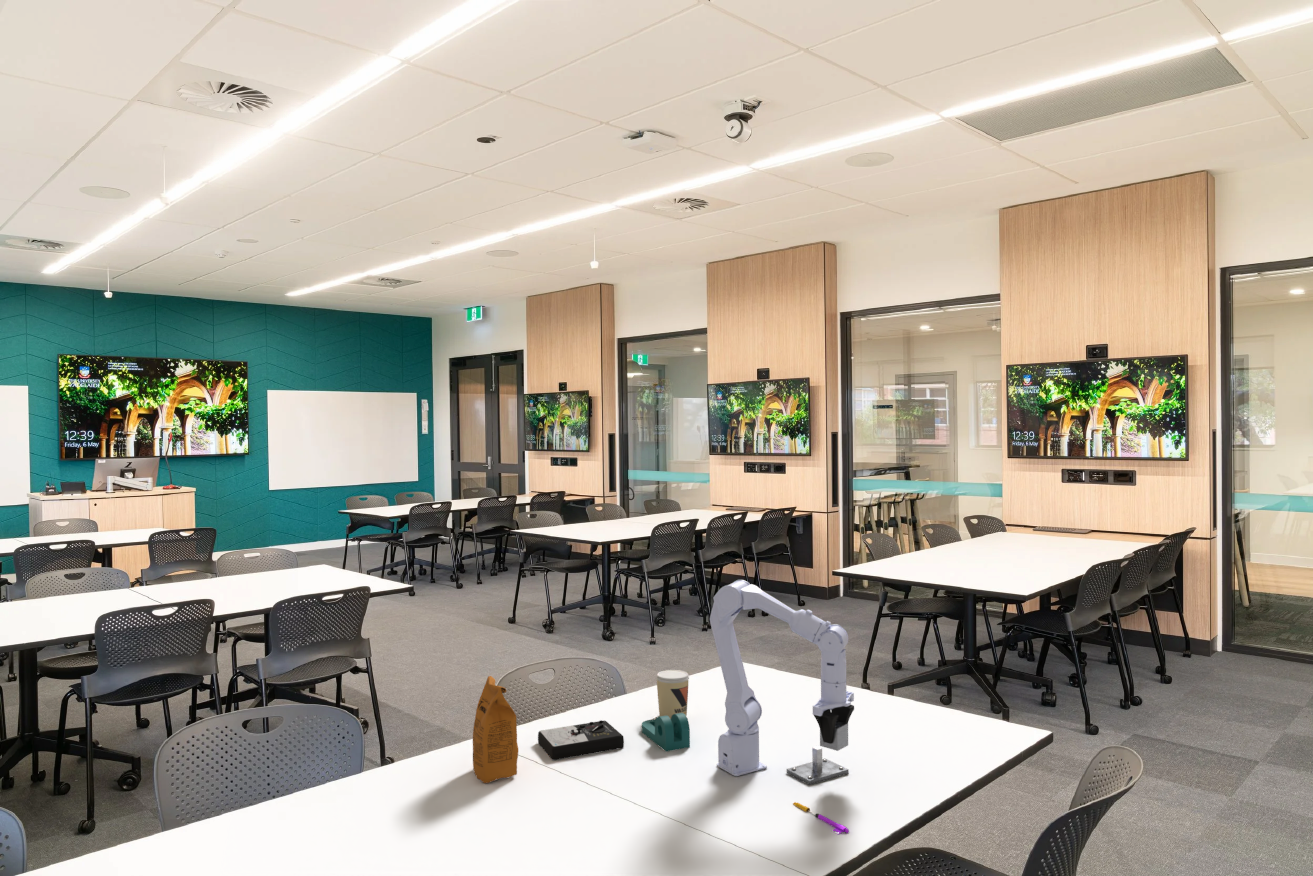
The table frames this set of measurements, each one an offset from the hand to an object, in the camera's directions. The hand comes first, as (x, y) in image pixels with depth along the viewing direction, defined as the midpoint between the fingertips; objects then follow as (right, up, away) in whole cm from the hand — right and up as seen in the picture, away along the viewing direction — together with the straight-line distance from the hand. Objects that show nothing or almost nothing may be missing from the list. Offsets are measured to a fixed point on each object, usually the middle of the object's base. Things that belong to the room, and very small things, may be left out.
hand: (833, 739), depth 192 cm
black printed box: (-60, -11, +25) cm, 66 cm away
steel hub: (0, -1, 0) cm, 1 cm away
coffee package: (-79, -11, +8) cm, 80 cm away
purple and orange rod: (-7, -11, -18) cm, 22 cm away
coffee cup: (-36, -10, +46) cm, 59 cm away
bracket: (-39, -11, +29) cm, 50 cm away
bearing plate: (-3, -10, +5) cm, 11 cm away
